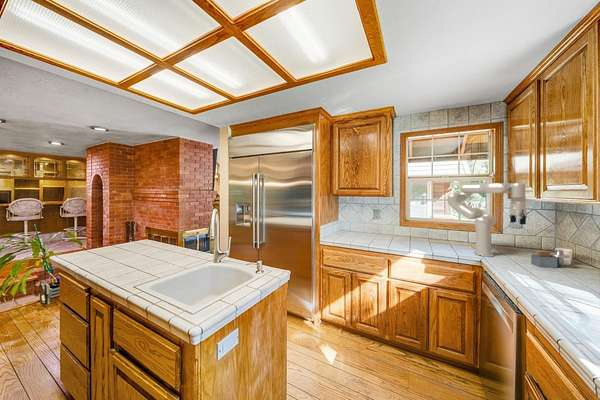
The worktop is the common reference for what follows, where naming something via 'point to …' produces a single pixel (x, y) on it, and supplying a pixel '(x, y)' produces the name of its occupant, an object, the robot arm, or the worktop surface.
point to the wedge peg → (543, 253)
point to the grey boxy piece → (549, 259)
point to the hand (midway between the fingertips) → (517, 223)
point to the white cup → (568, 252)
